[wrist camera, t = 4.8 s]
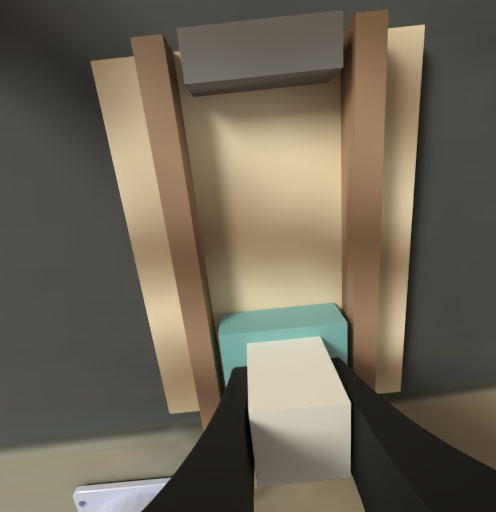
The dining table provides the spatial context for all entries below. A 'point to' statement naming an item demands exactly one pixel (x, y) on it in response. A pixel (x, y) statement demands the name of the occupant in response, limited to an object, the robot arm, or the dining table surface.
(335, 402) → the slider
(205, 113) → the track
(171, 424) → the dining table surface
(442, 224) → the dining table surface
